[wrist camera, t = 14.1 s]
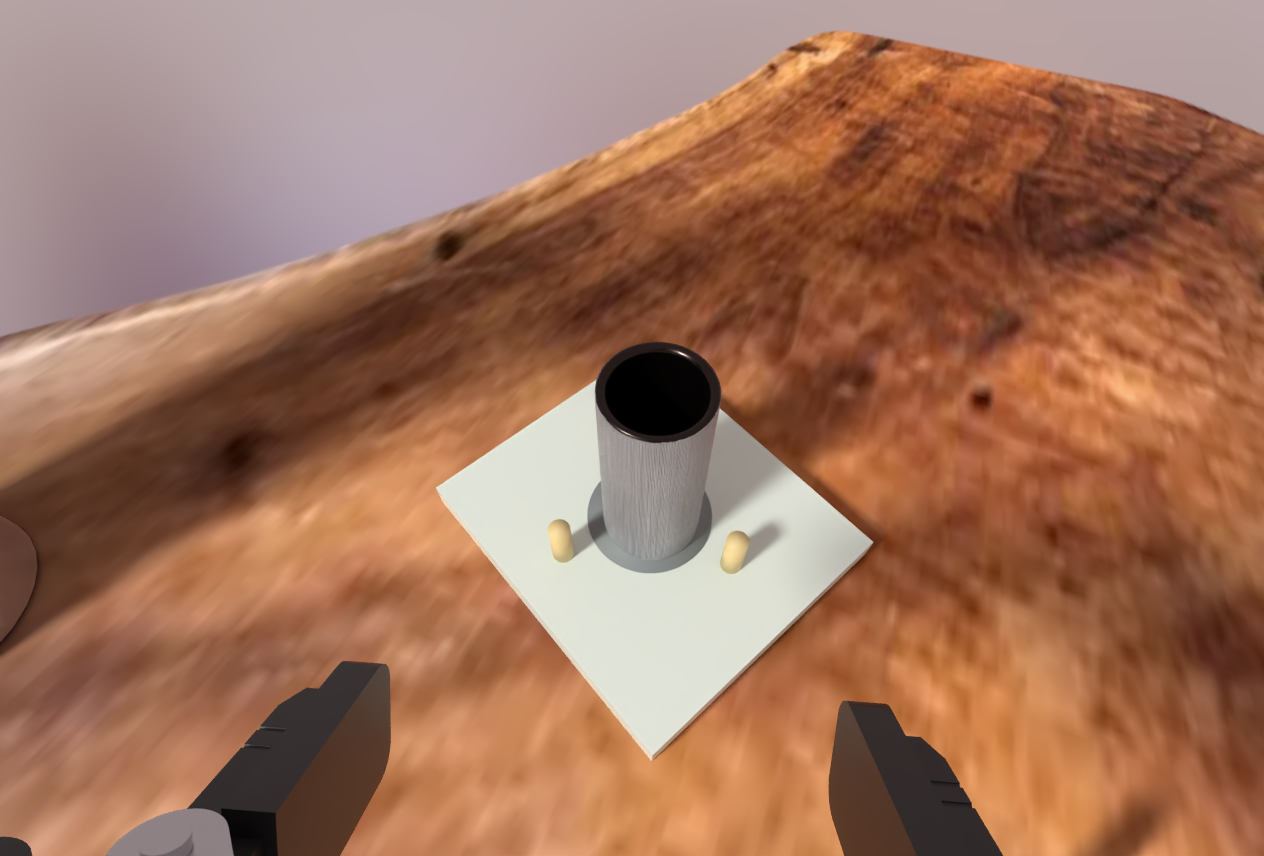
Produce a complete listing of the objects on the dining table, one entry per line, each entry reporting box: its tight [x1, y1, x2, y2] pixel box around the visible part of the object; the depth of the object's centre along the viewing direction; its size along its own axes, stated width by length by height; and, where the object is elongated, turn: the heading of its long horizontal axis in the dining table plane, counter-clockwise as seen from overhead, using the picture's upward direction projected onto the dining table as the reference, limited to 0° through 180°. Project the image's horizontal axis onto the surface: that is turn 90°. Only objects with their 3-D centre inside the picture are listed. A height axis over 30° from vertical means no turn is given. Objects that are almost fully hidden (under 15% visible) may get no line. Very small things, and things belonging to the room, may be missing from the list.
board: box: [436, 380, 873, 761], centre depth 33 cm, size 16×14×4 cm
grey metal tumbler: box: [595, 342, 721, 560], centre depth 29 cm, size 4×4×10 cm
